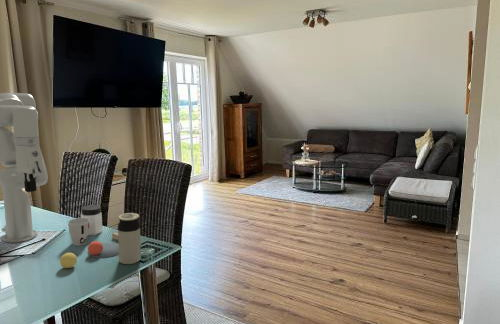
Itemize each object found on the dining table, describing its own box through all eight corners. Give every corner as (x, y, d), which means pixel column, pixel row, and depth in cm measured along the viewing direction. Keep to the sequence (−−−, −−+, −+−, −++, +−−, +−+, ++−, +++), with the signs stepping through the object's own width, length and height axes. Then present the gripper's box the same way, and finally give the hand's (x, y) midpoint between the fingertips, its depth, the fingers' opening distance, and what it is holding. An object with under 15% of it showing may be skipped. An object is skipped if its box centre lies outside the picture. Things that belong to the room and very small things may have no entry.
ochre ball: (74, 247, 128) (76, 259, 131) (57, 252, 126) (60, 264, 128) (76, 256, 124) (79, 268, 126) (59, 261, 121) (62, 273, 124)
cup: (81, 248, 143) (80, 225, 141) (64, 245, 144) (63, 223, 142) (94, 240, 150) (93, 218, 149) (78, 238, 152) (76, 217, 150)
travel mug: (120, 266, 129) (118, 220, 126) (118, 257, 136) (116, 213, 133) (142, 262, 132) (141, 218, 129) (139, 254, 139) (138, 211, 136)
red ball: (94, 236, 138) (101, 244, 142) (82, 246, 136) (90, 254, 139) (100, 241, 135) (107, 250, 138) (88, 252, 132) (96, 260, 136)
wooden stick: (137, 247, 145) (137, 242, 145) (112, 238, 153) (112, 233, 153) (141, 246, 147) (140, 240, 146) (116, 237, 155) (116, 232, 154)
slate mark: (102, 261, 132) (102, 260, 132) (80, 252, 139) (80, 251, 139) (131, 248, 144) (131, 248, 144) (110, 240, 151) (110, 240, 151)
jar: (79, 236, 155) (78, 210, 153) (83, 229, 163) (82, 205, 161) (100, 235, 157) (99, 209, 155) (103, 228, 165) (103, 204, 163)
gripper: (49, 142, 123) (52, 192, 126) (27, 139, 130) (30, 186, 134) (26, 144, 116) (30, 196, 120) (5, 140, 124) (9, 189, 127)
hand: (30, 191), depth 127 cm, fingers closed
